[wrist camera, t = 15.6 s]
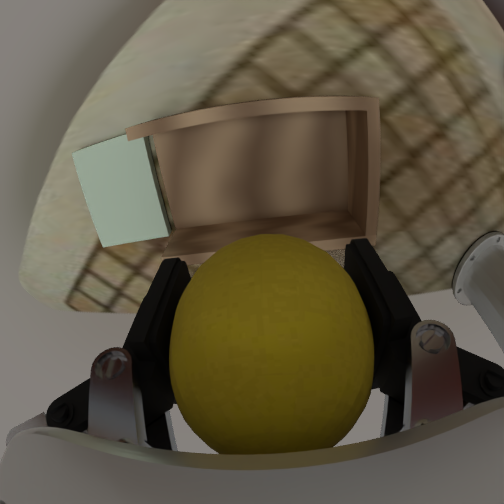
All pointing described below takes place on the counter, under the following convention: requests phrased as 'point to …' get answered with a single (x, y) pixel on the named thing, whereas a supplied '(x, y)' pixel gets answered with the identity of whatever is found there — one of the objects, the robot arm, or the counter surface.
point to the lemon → (271, 348)
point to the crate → (269, 172)
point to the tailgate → (122, 190)
